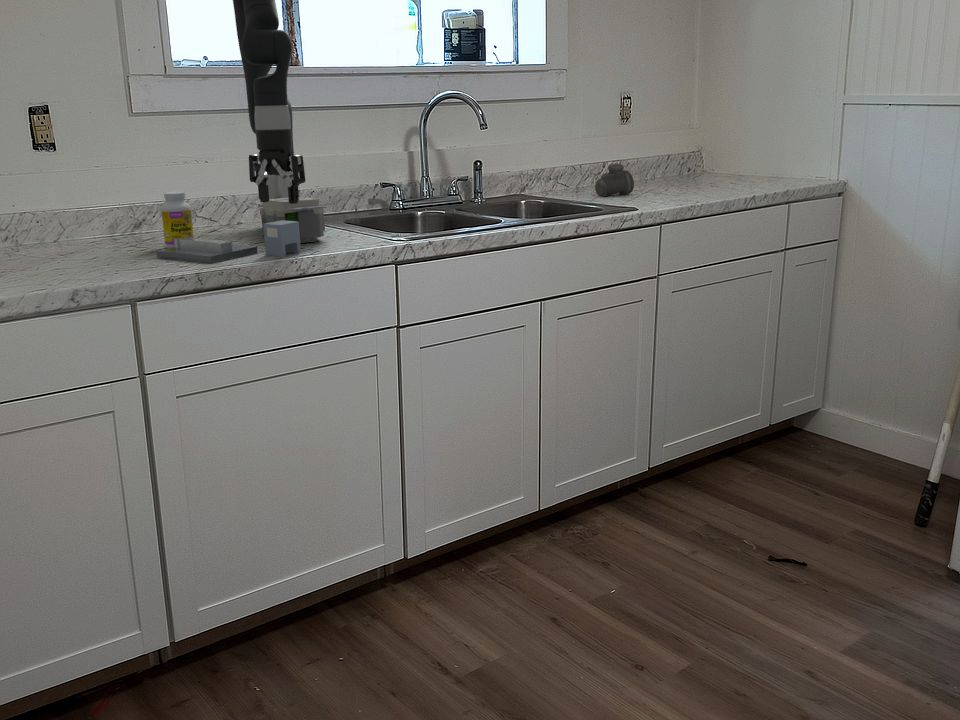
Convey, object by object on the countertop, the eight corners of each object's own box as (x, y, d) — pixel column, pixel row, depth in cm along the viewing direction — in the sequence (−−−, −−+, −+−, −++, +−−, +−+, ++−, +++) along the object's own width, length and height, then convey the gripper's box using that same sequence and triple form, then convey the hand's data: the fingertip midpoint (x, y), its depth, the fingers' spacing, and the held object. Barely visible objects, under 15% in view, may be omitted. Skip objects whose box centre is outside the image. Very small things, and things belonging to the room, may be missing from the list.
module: (284, 250, 211) (281, 220, 209) (300, 252, 209) (298, 221, 207) (265, 255, 206) (262, 223, 204) (282, 256, 204) (279, 225, 202)
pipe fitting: (619, 191, 309) (619, 161, 305) (635, 195, 303) (635, 164, 299) (591, 198, 304) (590, 167, 300) (606, 202, 298) (605, 171, 293)
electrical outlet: (288, 246, 213) (284, 202, 211) (255, 238, 238) (250, 199, 235) (336, 241, 218) (332, 199, 216) (298, 234, 243) (295, 196, 241)
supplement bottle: (169, 250, 214) (163, 194, 210) (162, 246, 219) (155, 192, 216) (198, 247, 218) (192, 192, 214) (190, 243, 223) (184, 190, 219)
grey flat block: (204, 247, 217) (202, 232, 216) (257, 253, 209) (256, 237, 208) (156, 257, 206) (155, 241, 205) (211, 263, 197) (209, 247, 196)
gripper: (309, 126, 199) (314, 202, 203) (261, 126, 206) (267, 199, 210) (285, 128, 193) (291, 206, 197) (236, 128, 200) (243, 203, 204)
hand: (279, 202), depth 204 cm, fingers open, 8 cm apart
